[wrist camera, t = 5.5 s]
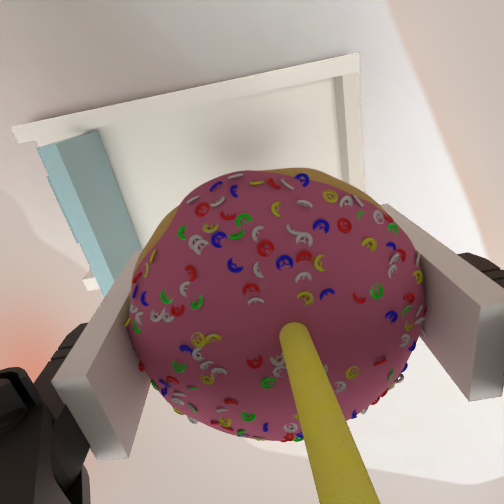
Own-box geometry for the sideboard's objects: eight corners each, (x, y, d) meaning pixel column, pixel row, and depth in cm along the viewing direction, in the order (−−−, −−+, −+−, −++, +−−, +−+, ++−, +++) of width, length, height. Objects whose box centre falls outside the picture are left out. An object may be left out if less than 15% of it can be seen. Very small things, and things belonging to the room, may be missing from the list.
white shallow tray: (33, 122, 27) (10, 126, 24) (345, 56, 26) (359, 51, 23) (100, 273, 33) (87, 291, 30) (356, 223, 32) (368, 237, 29)
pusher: (36, 143, 27) (-26, 160, 21) (98, 130, 27) (55, 143, 20) (90, 264, 32) (54, 309, 25) (143, 254, 32) (120, 296, 25)
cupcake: (153, 137, 12) (-575, 538, 1) (387, 148, 13) (1334, 495, 2) (166, 333, 16) (11, 876, 5) (348, 335, 16) (578, 830, 5)
